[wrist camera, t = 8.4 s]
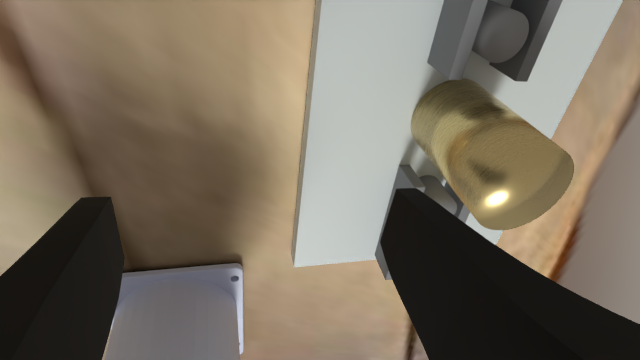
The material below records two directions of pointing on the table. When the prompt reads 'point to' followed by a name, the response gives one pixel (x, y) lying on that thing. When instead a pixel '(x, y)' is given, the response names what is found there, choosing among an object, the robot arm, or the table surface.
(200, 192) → the table surface
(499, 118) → the pin
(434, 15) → the chain base
